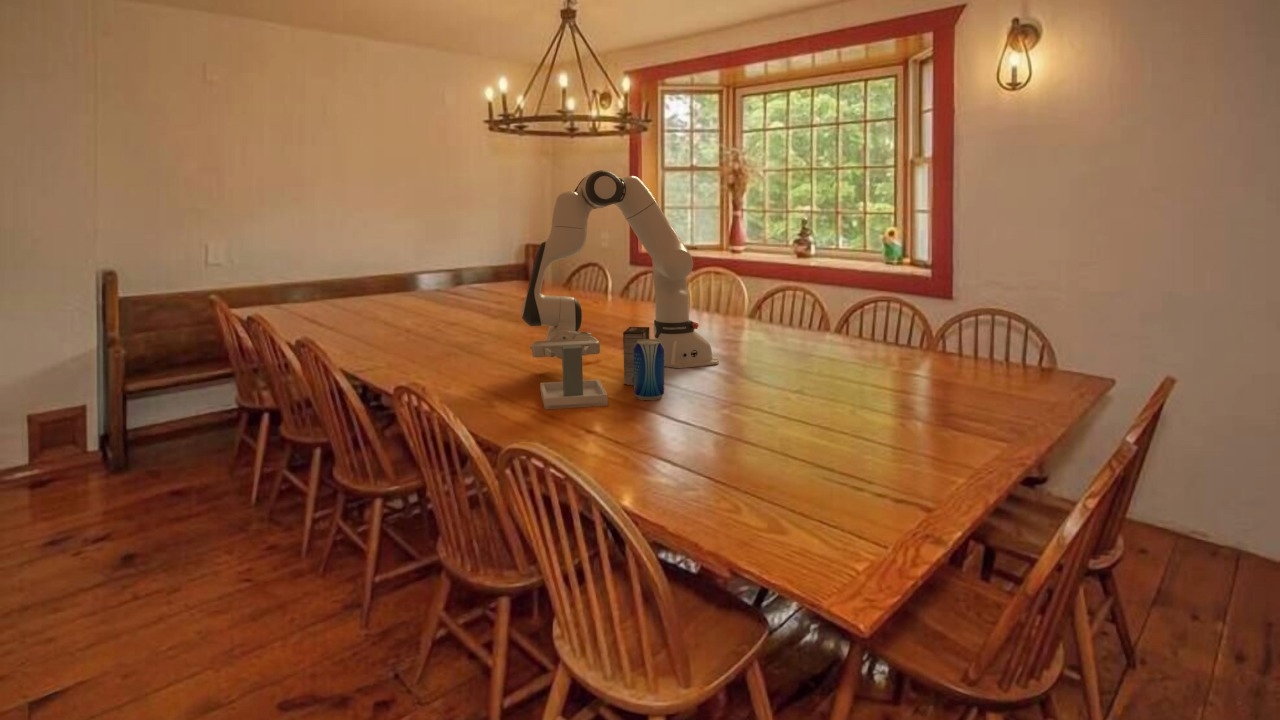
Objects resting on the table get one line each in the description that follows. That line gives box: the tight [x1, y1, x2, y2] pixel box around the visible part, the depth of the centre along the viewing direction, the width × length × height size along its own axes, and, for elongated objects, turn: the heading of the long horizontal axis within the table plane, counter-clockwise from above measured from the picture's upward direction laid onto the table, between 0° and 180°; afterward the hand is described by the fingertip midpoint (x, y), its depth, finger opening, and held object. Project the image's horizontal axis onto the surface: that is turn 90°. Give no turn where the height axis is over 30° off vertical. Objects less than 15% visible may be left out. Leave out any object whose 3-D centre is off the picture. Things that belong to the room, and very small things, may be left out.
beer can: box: [633, 338, 665, 401], centre depth 218 cm, size 8×8×16 cm
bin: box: [539, 378, 609, 411], centre depth 219 cm, size 17×17×3 cm
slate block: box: [561, 344, 584, 397], centre depth 217 cm, size 5×5×14 cm
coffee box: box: [622, 326, 651, 386], centre depth 235 cm, size 9×6×16 cm
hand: (568, 353), depth 228 cm, fingers open, 8 cm apart
